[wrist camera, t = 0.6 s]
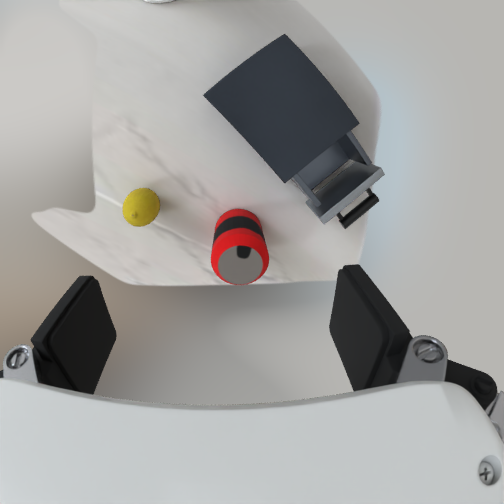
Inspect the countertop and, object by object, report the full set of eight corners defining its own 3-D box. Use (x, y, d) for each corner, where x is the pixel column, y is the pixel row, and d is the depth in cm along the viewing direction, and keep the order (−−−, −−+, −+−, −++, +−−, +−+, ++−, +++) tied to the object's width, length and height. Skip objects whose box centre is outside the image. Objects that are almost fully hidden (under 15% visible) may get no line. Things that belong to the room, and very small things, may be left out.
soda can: (265, 212, 44) (276, 242, 33) (256, 253, 47) (263, 293, 37) (218, 204, 43) (214, 233, 32) (212, 247, 46) (207, 286, 36)
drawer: (374, 184, 42) (398, 197, 35) (324, 225, 45) (340, 245, 38) (311, 97, 35) (329, 92, 28) (254, 143, 38) (259, 147, 31)
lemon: (166, 185, 41) (153, 199, 34) (162, 218, 43) (150, 237, 36) (134, 181, 40) (116, 193, 33) (132, 213, 43) (114, 231, 35)
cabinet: (333, 122, 38) (359, 123, 30) (273, 170, 41) (284, 183, 33) (273, 52, 33) (284, 33, 24) (209, 101, 36) (202, 95, 27)
